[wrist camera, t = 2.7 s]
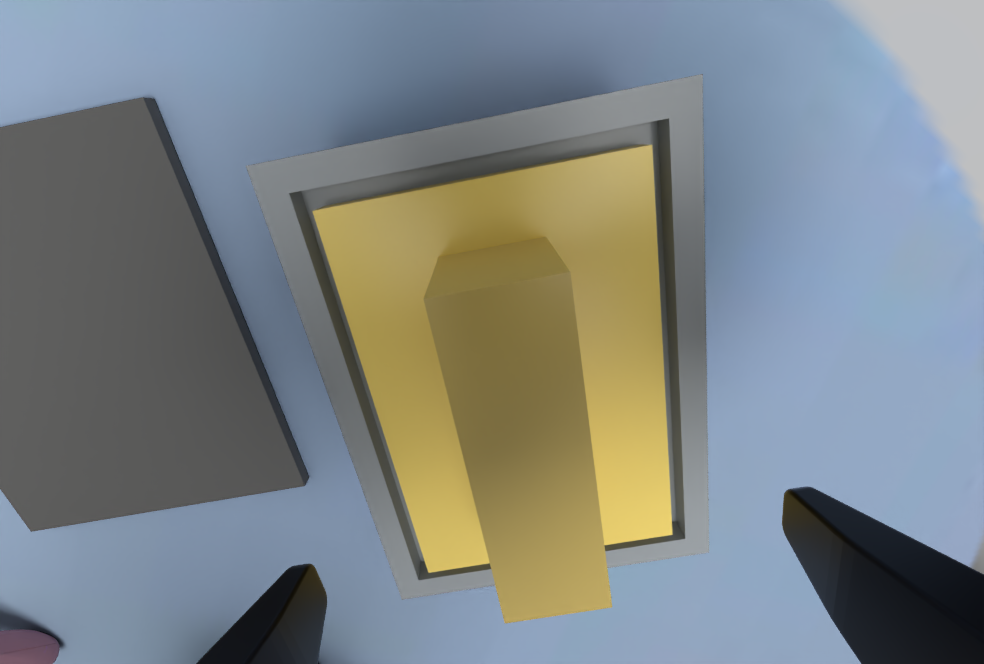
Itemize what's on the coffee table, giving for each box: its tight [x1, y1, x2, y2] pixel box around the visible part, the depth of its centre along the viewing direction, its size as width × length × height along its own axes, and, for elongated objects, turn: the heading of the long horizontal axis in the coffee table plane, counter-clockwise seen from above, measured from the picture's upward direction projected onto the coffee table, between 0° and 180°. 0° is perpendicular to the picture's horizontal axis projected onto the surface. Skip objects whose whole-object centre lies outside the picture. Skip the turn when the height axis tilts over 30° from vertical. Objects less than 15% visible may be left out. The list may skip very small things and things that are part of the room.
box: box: [246, 74, 709, 600], centre depth 17 cm, size 11×15×7 cm
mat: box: [0, 97, 309, 532], centre depth 20 cm, size 14×17×1 cm
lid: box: [312, 144, 673, 623], centre depth 13 cm, size 8×12×4 cm
